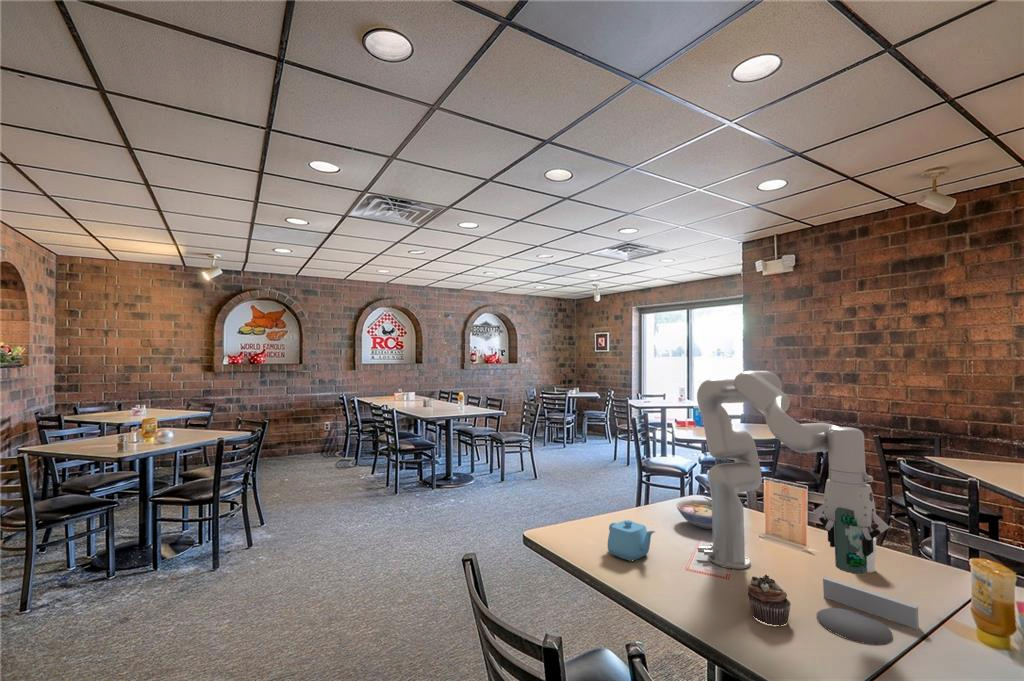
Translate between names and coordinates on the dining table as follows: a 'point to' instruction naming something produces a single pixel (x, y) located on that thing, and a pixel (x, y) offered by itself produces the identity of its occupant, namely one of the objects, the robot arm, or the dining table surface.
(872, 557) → the white cup
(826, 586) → the panel
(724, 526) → the robot arm
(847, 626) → the mat
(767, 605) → the cupcake
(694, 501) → the ramen bowl
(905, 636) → the dining table surface
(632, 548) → the teapot
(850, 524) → the can
